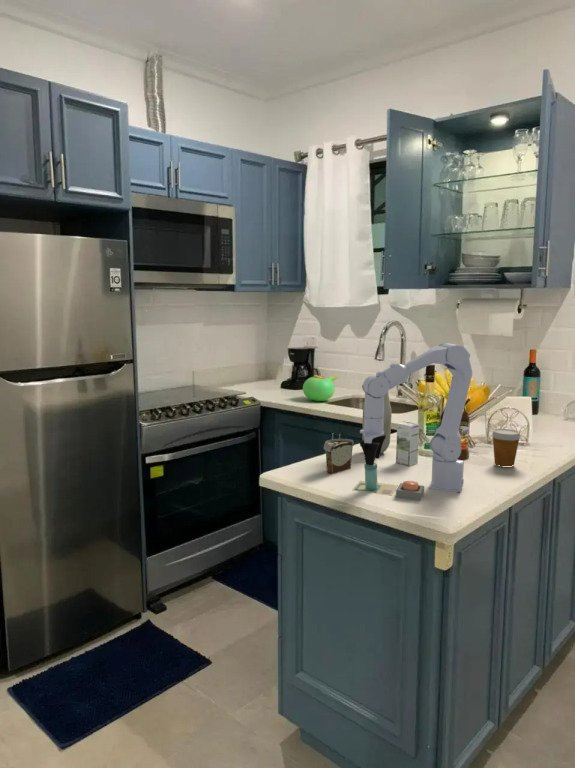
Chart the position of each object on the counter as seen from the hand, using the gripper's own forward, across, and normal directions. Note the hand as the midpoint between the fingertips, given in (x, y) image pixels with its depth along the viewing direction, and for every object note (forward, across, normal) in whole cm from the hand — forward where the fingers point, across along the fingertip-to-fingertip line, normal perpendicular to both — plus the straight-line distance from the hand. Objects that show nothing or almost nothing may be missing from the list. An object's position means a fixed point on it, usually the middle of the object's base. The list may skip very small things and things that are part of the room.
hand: (372, 461), depth 178 cm
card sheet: (+9, -2, +1) cm, 9 cm away
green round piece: (+9, -140, -62) cm, 154 cm away
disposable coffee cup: (+10, -44, +37) cm, 58 cm away
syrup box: (+9, -34, +5) cm, 35 cm away
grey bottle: (+9, -42, -8) cm, 44 cm away
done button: (+7, +1, +12) cm, 14 cm away
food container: (+9, -16, -16) cm, 24 cm away
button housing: (+9, +2, +12) cm, 15 cm away
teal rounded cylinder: (+8, 0, 0) cm, 9 cm away
